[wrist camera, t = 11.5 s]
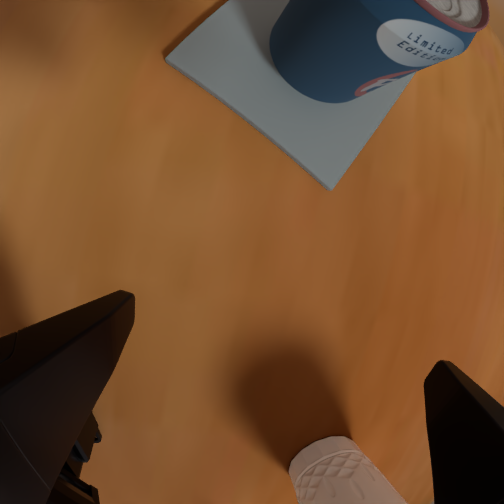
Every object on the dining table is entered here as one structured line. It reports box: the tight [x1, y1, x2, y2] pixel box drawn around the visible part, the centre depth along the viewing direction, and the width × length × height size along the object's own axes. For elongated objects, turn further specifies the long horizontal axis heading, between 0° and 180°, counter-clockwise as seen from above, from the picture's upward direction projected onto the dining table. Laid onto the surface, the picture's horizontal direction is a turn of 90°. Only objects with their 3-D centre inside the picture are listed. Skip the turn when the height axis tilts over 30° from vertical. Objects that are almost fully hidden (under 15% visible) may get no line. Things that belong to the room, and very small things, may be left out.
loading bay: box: [165, 0, 416, 190], centre depth 17 cm, size 15×13×3 cm
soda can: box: [269, 0, 489, 103], centre depth 12 cm, size 7×7×12 cm
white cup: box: [289, 436, 408, 504], centre depth 20 cm, size 8×8×10 cm
